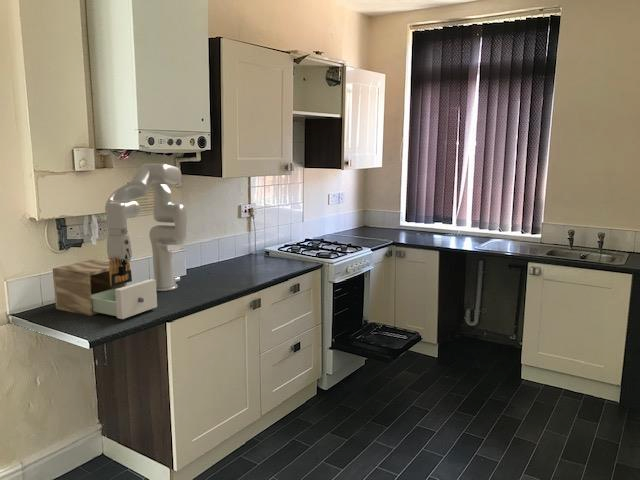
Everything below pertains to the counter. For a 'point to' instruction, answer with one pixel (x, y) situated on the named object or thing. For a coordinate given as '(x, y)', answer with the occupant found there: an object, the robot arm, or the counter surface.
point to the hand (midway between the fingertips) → (120, 274)
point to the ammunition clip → (114, 273)
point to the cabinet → (80, 285)
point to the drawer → (126, 299)
